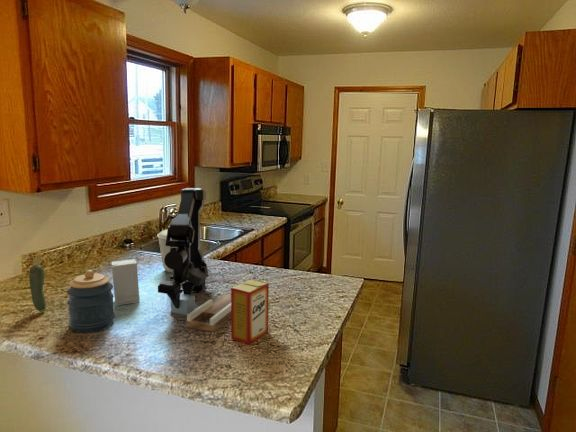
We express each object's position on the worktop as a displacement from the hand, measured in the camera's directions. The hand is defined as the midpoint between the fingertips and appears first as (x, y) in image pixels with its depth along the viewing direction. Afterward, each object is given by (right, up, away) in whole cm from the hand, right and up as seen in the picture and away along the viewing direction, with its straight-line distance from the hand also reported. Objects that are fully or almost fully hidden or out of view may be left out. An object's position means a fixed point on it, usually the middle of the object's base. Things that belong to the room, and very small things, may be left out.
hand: (182, 305), depth 140 cm
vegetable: (-47, -2, -1) cm, 47 cm away
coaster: (0, -3, 0) cm, 3 cm away
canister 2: (-13, +6, +47) cm, 49 cm away
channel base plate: (+12, -3, 0) cm, 13 cm away
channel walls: (+11, -2, -6) cm, 12 cm away
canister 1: (-26, -4, -10) cm, 28 cm away
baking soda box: (+24, -6, -15) cm, 29 cm away
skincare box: (-22, -1, +9) cm, 24 cm away
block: (0, -2, 0) cm, 2 cm away
